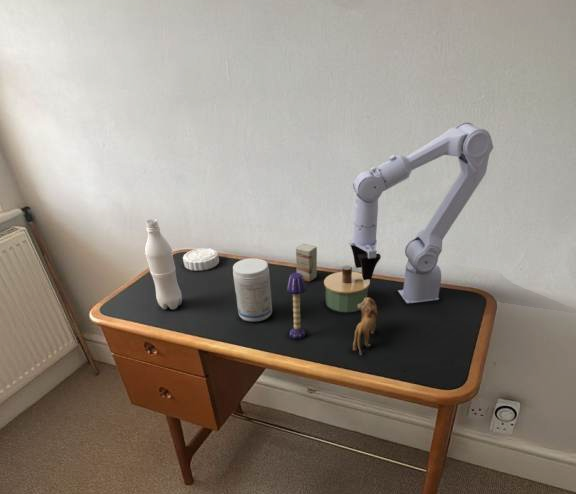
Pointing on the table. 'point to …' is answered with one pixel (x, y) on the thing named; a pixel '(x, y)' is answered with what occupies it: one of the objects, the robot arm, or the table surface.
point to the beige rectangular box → (307, 261)
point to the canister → (345, 300)
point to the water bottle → (162, 267)
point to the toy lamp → (296, 303)
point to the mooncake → (201, 259)
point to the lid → (346, 281)
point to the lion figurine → (365, 322)
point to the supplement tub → (252, 289)
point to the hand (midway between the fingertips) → (363, 272)
